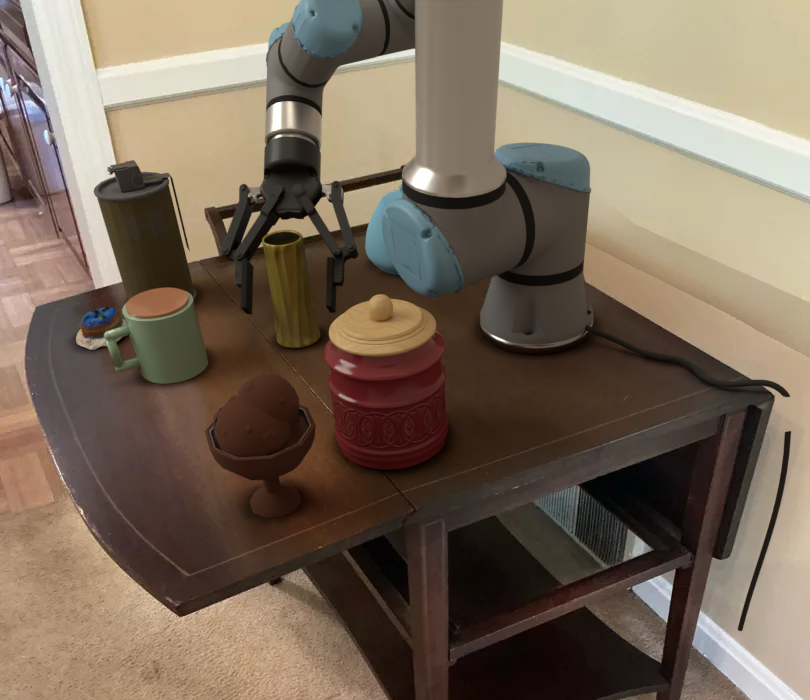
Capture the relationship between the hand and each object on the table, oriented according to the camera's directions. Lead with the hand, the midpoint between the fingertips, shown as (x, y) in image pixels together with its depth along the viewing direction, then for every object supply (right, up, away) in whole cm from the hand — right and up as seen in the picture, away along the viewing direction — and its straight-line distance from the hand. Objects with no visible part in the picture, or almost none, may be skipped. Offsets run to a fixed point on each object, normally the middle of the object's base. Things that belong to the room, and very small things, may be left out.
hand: (288, 310), depth 112 cm
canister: (-22, +6, +18) cm, 29 cm away
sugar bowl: (+17, +14, +23) cm, 32 cm away
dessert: (-28, -1, +11) cm, 30 cm away
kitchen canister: (+14, -19, -14) cm, 27 cm away
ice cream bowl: (+2, -26, -21) cm, 34 cm away
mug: (-17, -8, +2) cm, 19 cm away
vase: (+1, -2, +6) cm, 6 cm away
